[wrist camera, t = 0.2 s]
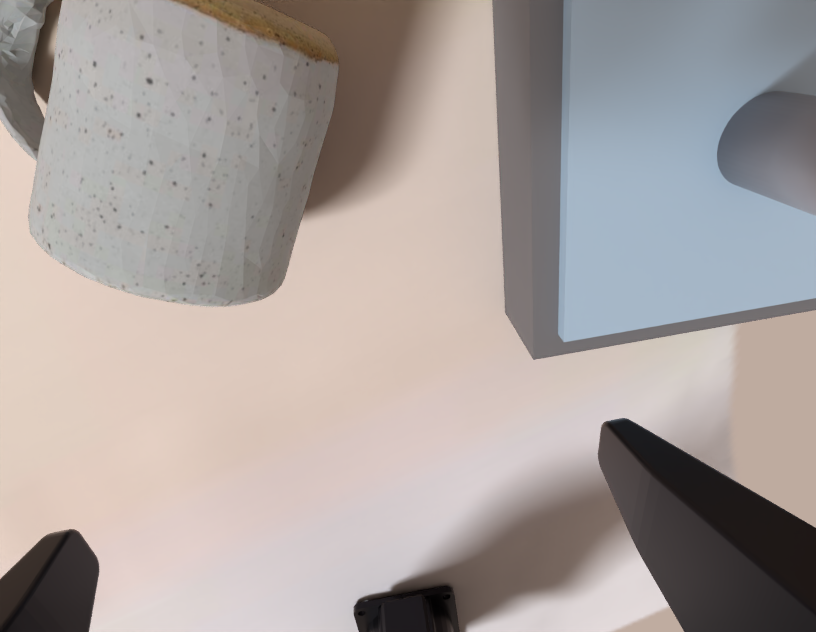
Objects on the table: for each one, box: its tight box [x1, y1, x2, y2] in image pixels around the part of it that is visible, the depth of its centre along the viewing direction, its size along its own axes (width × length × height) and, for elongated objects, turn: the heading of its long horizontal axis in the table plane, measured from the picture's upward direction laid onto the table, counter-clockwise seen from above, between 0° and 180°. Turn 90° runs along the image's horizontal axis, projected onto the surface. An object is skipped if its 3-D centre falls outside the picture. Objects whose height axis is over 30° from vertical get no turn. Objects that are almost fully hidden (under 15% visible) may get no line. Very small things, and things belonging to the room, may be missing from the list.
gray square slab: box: [493, 0, 816, 360], centre depth 19 cm, size 15×15×4 cm
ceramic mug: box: [0, 0, 339, 307], centre depth 15 cm, size 11×8×8 cm
